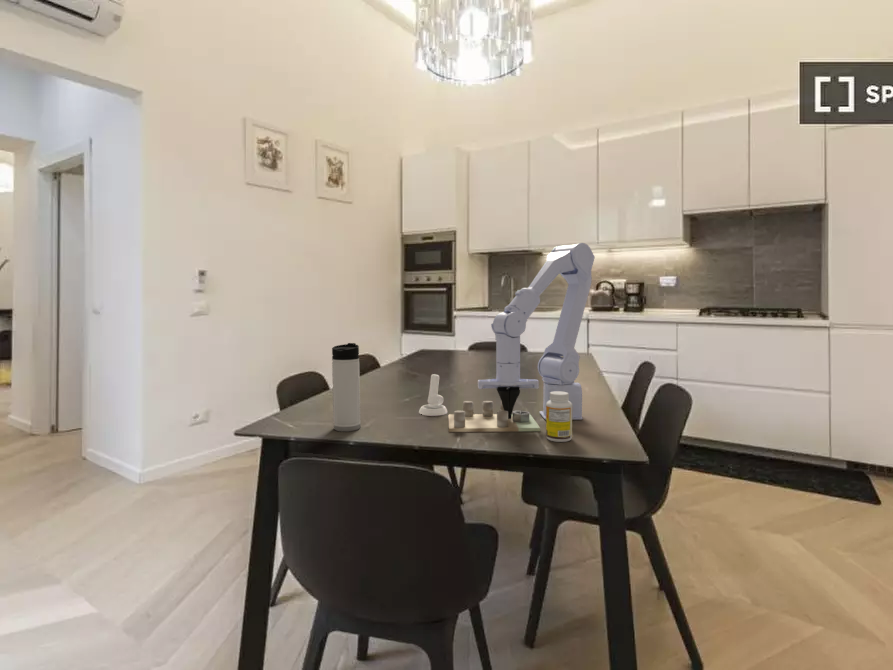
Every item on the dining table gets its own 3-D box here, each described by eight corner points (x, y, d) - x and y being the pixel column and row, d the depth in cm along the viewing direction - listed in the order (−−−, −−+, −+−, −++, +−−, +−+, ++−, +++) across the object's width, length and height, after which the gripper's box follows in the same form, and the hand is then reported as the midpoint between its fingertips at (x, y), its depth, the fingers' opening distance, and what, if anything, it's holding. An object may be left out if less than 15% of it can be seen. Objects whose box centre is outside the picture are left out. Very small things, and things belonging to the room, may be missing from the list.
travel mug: (365, 425, 127) (364, 343, 126) (352, 432, 121) (350, 346, 119) (343, 423, 129) (341, 342, 128) (328, 430, 123) (326, 345, 122)
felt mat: (530, 416, 135) (530, 414, 135) (540, 431, 121) (540, 428, 121) (510, 417, 135) (510, 414, 135) (518, 431, 121) (518, 428, 121)
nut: (525, 417, 131) (525, 409, 131) (533, 421, 127) (533, 413, 127) (508, 419, 130) (508, 411, 129) (516, 423, 126) (516, 414, 126)
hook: (445, 387, 150) (452, 376, 144) (442, 427, 143) (450, 417, 138) (419, 382, 148) (425, 371, 142) (416, 422, 142) (422, 412, 136)
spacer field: (510, 417, 135) (510, 400, 135) (518, 431, 121) (518, 412, 121) (448, 417, 135) (448, 400, 135) (448, 431, 121) (448, 413, 121)
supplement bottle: (553, 434, 119) (554, 389, 118) (576, 438, 115) (577, 392, 114) (541, 439, 115) (541, 393, 114) (564, 444, 111) (564, 396, 110)
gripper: (535, 359, 131) (534, 413, 132) (477, 360, 131) (477, 414, 132) (540, 363, 124) (540, 420, 125) (478, 364, 124) (478, 420, 125)
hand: (507, 417), depth 128 cm, fingers closed
